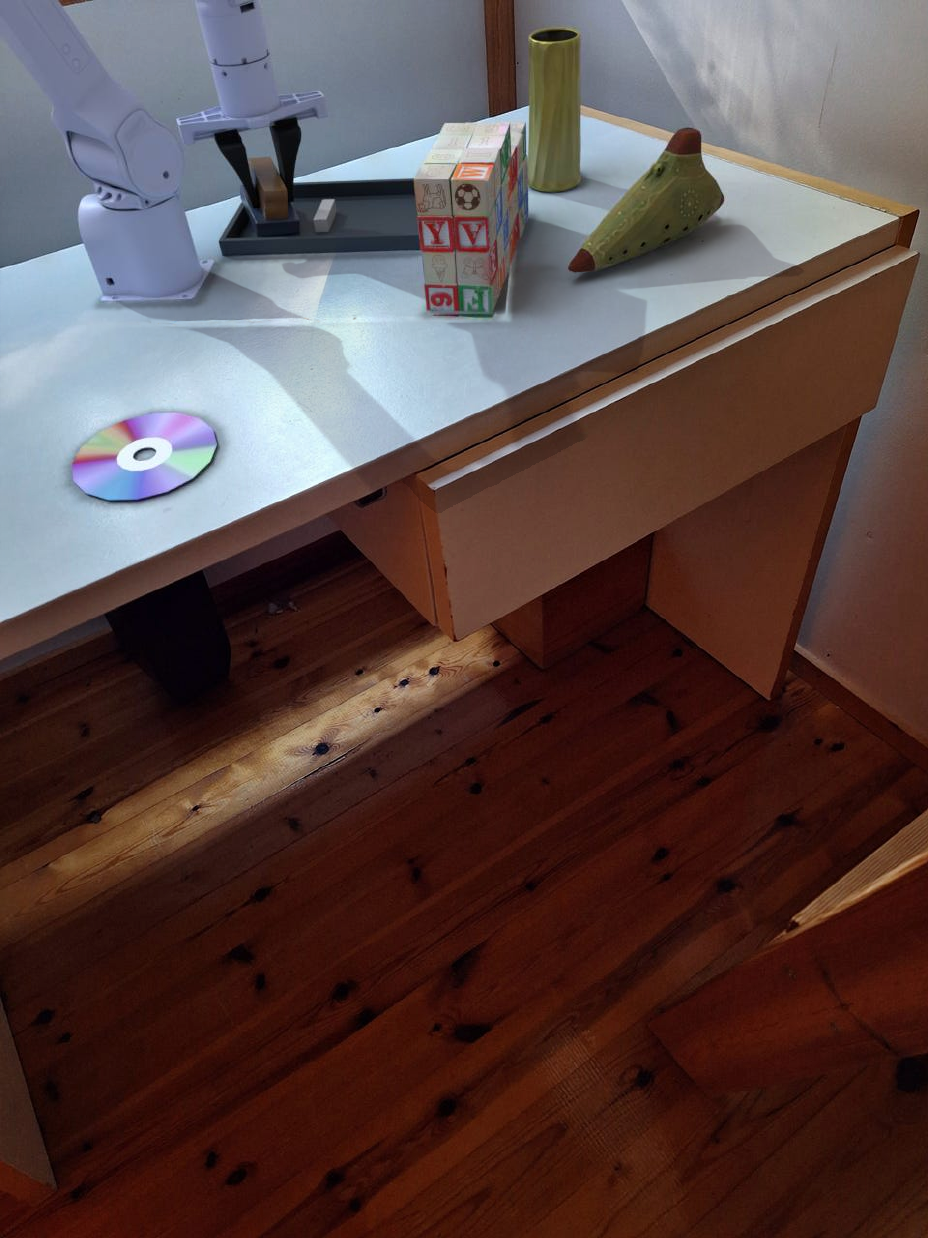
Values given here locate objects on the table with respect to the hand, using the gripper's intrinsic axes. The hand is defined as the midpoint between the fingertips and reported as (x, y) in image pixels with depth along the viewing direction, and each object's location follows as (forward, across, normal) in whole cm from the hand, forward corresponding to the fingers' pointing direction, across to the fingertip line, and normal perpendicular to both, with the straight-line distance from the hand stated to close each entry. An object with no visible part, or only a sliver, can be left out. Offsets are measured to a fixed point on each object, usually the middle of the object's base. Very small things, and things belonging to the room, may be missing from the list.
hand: (272, 202), depth 95 cm
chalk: (+2, +5, -2) cm, 6 cm away
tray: (+3, +6, -3) cm, 7 cm away
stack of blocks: (+3, +17, -18) cm, 25 cm away
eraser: (+1, 0, 0) cm, 1 cm away
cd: (+2, -18, -36) cm, 40 cm away
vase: (+3, +31, -4) cm, 31 cm away
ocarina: (+3, +32, -23) cm, 40 cm away
